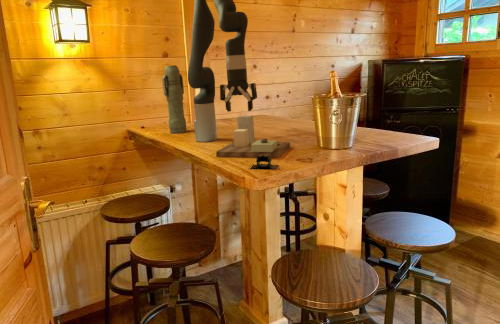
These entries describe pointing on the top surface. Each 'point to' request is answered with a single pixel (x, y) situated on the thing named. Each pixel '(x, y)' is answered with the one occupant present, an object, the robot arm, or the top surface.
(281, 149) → the puzzle board
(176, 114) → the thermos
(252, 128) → the skincare box
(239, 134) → the cream block
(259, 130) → the top surface
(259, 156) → the black stand
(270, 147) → the lid
